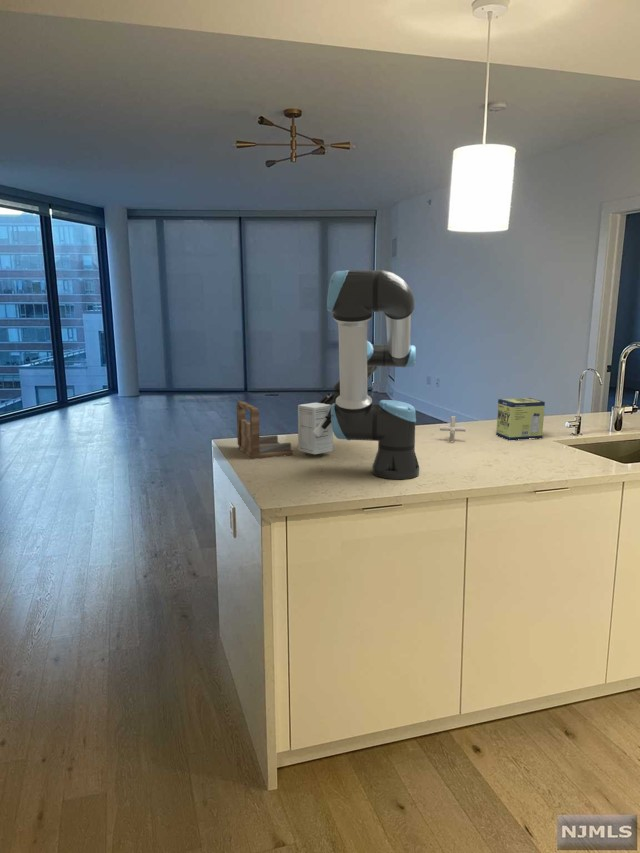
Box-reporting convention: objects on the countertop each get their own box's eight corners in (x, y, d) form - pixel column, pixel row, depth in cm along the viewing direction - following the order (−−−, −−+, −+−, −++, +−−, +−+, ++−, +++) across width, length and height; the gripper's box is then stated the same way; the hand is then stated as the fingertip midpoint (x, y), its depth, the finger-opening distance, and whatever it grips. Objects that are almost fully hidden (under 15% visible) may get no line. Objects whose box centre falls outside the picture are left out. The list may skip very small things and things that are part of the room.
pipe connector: (465, 444, 234) (466, 419, 232) (439, 443, 236) (440, 418, 234) (464, 439, 244) (465, 414, 241) (439, 437, 245) (440, 413, 243)
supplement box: (334, 451, 216) (334, 405, 213) (314, 455, 210) (315, 407, 207) (316, 446, 223) (316, 401, 220) (297, 450, 217) (297, 404, 214)
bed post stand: (293, 455, 217) (292, 406, 213) (252, 459, 210) (252, 408, 207) (275, 444, 233) (275, 398, 229) (237, 448, 226) (236, 401, 223)
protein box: (495, 435, 251) (497, 398, 247) (527, 433, 255) (530, 397, 251) (509, 441, 241) (511, 402, 238) (542, 439, 245) (545, 401, 242)
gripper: (370, 397, 209) (329, 444, 205) (339, 389, 230) (302, 432, 226) (356, 383, 206) (315, 430, 202) (327, 376, 227) (289, 419, 223)
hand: (308, 431), depth 214 cm, fingers closed on supplement box, 11 cm apart
